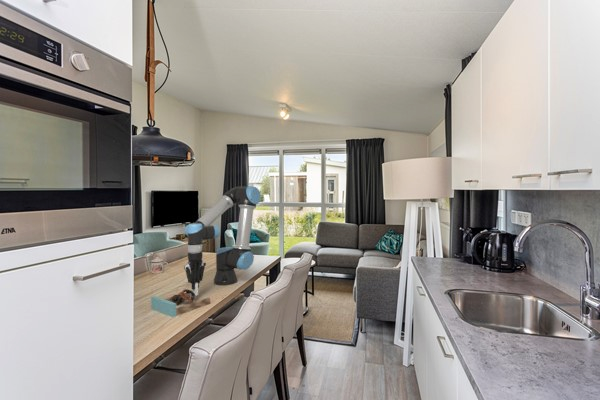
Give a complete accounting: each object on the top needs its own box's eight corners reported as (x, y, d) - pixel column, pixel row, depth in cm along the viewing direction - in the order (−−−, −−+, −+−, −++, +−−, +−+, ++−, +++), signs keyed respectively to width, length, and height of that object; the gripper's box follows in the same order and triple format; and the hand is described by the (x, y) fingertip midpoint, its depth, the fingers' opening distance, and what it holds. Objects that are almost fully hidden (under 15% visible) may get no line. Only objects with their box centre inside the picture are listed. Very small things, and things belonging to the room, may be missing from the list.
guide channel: (188, 296, 174) (188, 291, 174) (210, 303, 163) (210, 298, 163) (155, 307, 157) (154, 301, 157) (176, 315, 146) (176, 309, 146)
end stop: (155, 307, 157) (154, 295, 157) (176, 315, 146) (176, 303, 146) (151, 308, 156) (151, 297, 156) (172, 317, 145) (172, 304, 145)
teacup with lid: (150, 274, 223) (149, 258, 223) (151, 271, 231) (151, 256, 231) (167, 272, 227) (167, 257, 227) (168, 270, 235) (168, 255, 235)
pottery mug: (184, 300, 170) (191, 287, 169) (192, 311, 164) (199, 298, 164) (165, 300, 160) (172, 287, 160) (173, 312, 155) (180, 299, 154)
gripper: (189, 254, 158) (189, 299, 159) (209, 250, 169) (209, 292, 170) (180, 253, 163) (180, 296, 163) (200, 249, 173) (201, 290, 174)
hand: (195, 294), depth 166 cm, fingers closed
